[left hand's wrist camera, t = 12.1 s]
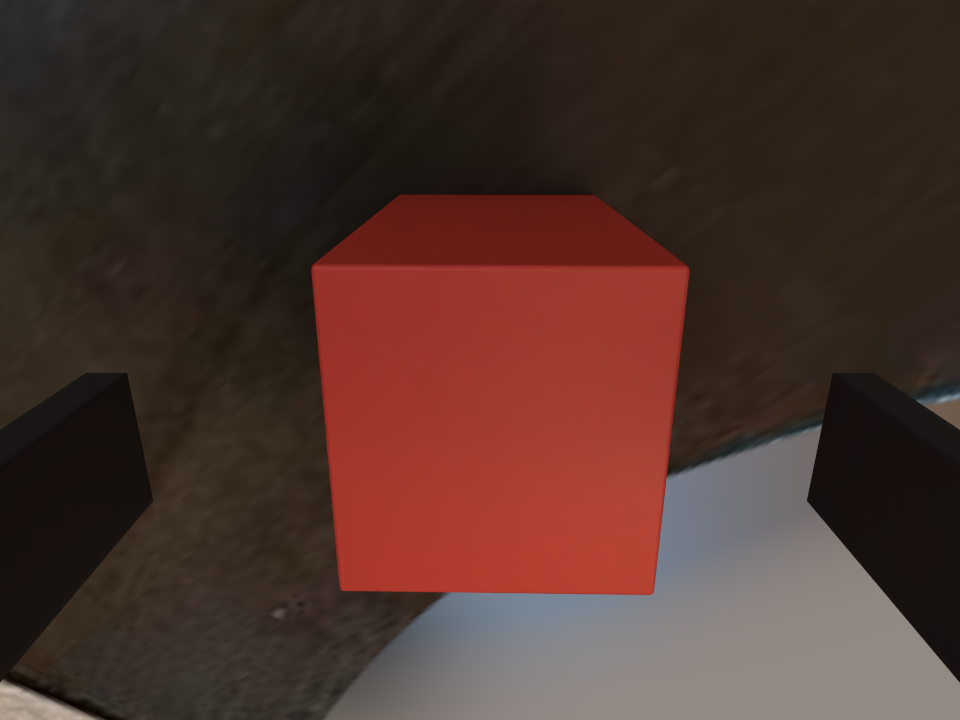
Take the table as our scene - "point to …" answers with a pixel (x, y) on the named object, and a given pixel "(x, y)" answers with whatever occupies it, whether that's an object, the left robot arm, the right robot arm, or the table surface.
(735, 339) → the table surface
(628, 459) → the block
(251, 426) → the table surface
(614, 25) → the table surface
